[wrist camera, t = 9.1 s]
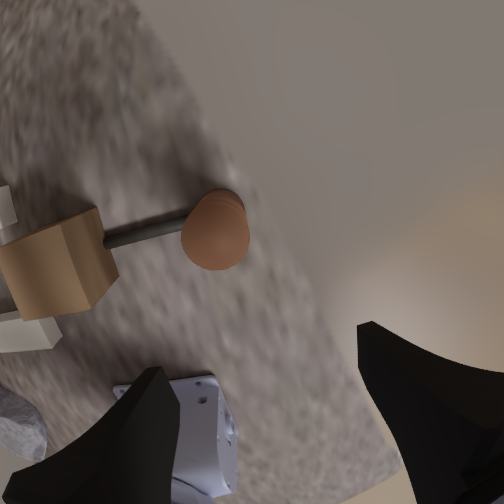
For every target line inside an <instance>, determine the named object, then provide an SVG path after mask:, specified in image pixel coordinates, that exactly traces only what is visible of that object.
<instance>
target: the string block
mask: <svg viewBox="0 0 504 504" xmlns="http://www.w3.org/2000/svg"><path fill="white" fill-rule="evenodd" d="M181 230H182V232H181V242H182V246H183V249H184V251H185V253H186V255H187V256H188V257H189V259H190V260H191V261H192V262H194V263H195V264H196V265H198V266H200V267H202V268H204V269H208V270H224V269H227V268H230V267H232V266H234V265H235V264H237V263H238V262H239V261H240V260H241V259H242V258H243V257H244V255H245V253H246V252H247V249H248V246H249V241H250V234H249V228H248V223H247V218H246V213H245V208H244V204H243V202H242V200H241V199H240V198H239V196H238V195H236V194H235V193H234V192H232V191H229V190H226V189H216V190H212V191H210V192H208V193H207V194H206V195H204V196H203V198H202V199H201V200H200V201H199V203H198V204H197V205H196V207H195V208H194V209H193V211H192V212H191V213H190V215H187V216H183V217H179V218H176V219H172V220H168V221H164V222H160V223H157V224H153V225H149V226H145V227H142V228H138V229H135V230H131V231H127V232H124V233H120V234H117V235H113V236H110V237H106V235H105V232H104V229H103V225H102V222H101V219H100V215H99V212H98V208H97V207H96V208H93V209H90V210H87V211H84V212H82V213H79V214H76V215H73V216H70V217H68V218H65V219H62V220H59V221H57V222H54V223H51V224H49V225H46V226H44V227H41V228H39V229H36V230H34V231H32V232H30V233H27V234H25V235H23V236H21V237H19V238H17V239H15V240H13V241H11V242H9V243H7V244H5V245H3V246H2V247H0V267H1V270H2V272H3V275H4V277H5V280H6V283H7V285H8V288H9V290H10V292H11V295H12V297H13V299H14V302H15V304H16V306H17V308H18V310H19V313H20V315H21V317H22V319H23V321H24V322H25V321H31V320H37V319H42V318H48V317H53V316H59V315H64V314H69V313H75V312H80V311H85V310H91V309H92V308H93V307H94V306H95V304H96V303H97V302H98V301H99V300H100V298H101V297H102V296H103V295H104V294H105V292H106V291H107V290H108V289H109V288H110V286H111V285H112V284H113V283H114V282H115V281H116V279H117V278H118V277H119V273H118V270H117V268H116V265H115V262H114V259H113V256H112V253H111V250H110V249H112V248H115V247H119V246H123V245H126V244H130V243H134V242H138V241H141V240H145V239H149V238H153V237H157V236H161V235H165V234H169V233H173V232H177V231H181Z"/></svg>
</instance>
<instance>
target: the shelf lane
mask: <svg viewBox="0 0 504 504" xmlns="http://www.w3.org/2000/svg"><path fill="white" fill-rule="evenodd" d="M16 222H18V220H17V216H16V213H15V209H14V205H13V201H12V197H11V193H10V189H9V185H7V186H3V187H0V230H1V229H3V228H5V227H8V226H10V225H12V224H14V223H16ZM62 336H63V335H62V333H61V331H60V329H59V327H58V325H57V323H56V321H55V319H54V317H48V318H42V319H37V320H31V321H25V322H24V321H23V319H22V317H21V315H20V313H19V310H17V311H12V312H7V313H2V314H0V353H5V352H19V351H32V350H43V349H53V347H54V346H55V345H56V344H57V342H58V341H59V340H60V338H61V337H62Z"/></svg>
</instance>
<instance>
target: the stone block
mask: <svg viewBox="0 0 504 504" xmlns="http://www.w3.org/2000/svg"><path fill="white" fill-rule="evenodd" d="M46 431H47V426H46V424H45V422H44V420H43V418H42V417H41V415H40V413H39V411H38V410H37V409H36V408H35V407H34V406H33V405H31V404H30V403H29V402H27V401H26V400H24V399H23V398H22V397H20V396H18V395H16V394H14V393H12V392H11V391H8V390H6V389H5V388H3V387H2V386H0V443H1V444H2V445H3V446H5V447H6V448H7V449H8V450H9V451H11V452H13V453H14V454H16V455H18V456H20V457H21V458H24V459H27V460H31V461H33V462H41V461H43V460H44V459H45V453H46V448H47V439H46V435H47V434H46Z"/></svg>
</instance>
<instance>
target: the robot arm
mask: <svg viewBox="0 0 504 504" xmlns="http://www.w3.org/2000/svg"><path fill="white" fill-rule="evenodd" d="M357 345H358V368H359V371H360V373H361V376H362V378H363V381H364V383H365V386H366V388H367V390H368V392H369V394H370V396H371V397H372V399H373V401H374V403H375V404H376V406H377V408H378V410H379V411H380V413H381V415H382V417H383V418H384V420H385V421H386V424H387V425H388V427H389V429H390V430H391V433H392V435H393V437H394V438H395V441H396V443H397V446H398V448H399V451H400V453H401V456H402V458H403V461H404V464H405V467H406V470H407V472H408V475H409V478H410V481H411V484H412V488H413V491H414V494H415V498H416V501H417V504H504V373H502V372H494V371H489V370H484V369H479V368H475V367H470V366H467V365H463V364H460V363H457V362H454V361H451V360H448V359H445V358H443V357H440V356H438V355H435V354H433V353H431V352H429V351H427V350H424V349H422V348H420V347H418V346H416V345H414V344H412V343H410V342H409V341H407V340H405V339H403V338H401V337H399V336H398V335H396V334H394V333H392V332H391V331H389V330H387V329H386V328H384V327H382V326H380V325H378V324H377V323H375V322H373V321H370V322H367V323H364V324H360V325H357ZM197 382H200V383H197ZM122 390H124V391H122ZM113 393H114V394H115V396H116V397H117V399H118V401H117V402H116V403H115V404H114V405H113V406H112V407H111V408H110V409H109V411H108V412H107V413H106V414H105V415H104V416H103V417H102V418H101V419H100V420H99V421H98V422H97V423H96V424H94V425H93V426H92V427H91V428H90V429H89V430H88V431H86V432H85V433H84V434H83V435H82V436H80V437H79V438H78V439H76V440H75V441H73V442H72V443H71V444H69V445H68V446H66V447H65V448H63V449H62V450H60V451H59V452H57V453H55V454H54V455H52V456H50V457H48V458H47V459H45V460H43V461H41V462H39V463H37V464H34V465H32V466H30V467H27V468H25V469H22V470H20V471H17V472H14V473H13V474H12V475H11V477H10V480H9V482H8V484H7V486H6V489H5V491H4V493H3V495H2V499H3V500H4V502H5V503H6V504H213V498H215V497H218V496H222V495H227V494H231V493H234V492H236V490H237V485H238V461H237V435H238V429H237V427H236V424H235V422H234V420H233V417H232V415H231V413H230V410H229V408H228V405H227V403H226V400H225V398H224V395H223V393H222V390H221V388H220V385H219V383H218V380H217V378H216V377H215V376H213V375H207V376H200V377H193V378H186V379H179V380H171V381H169V380H168V378H167V376H166V374H165V372H164V370H163V368H162V366H159V367H151V368H147V369H146V370H145V371H144V372H143V373H142V374H141V375H140V376H139V377H138V378H137V379H136V380H135V382H134V383H133V384H131V385H118V386H114V388H113Z"/></svg>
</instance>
